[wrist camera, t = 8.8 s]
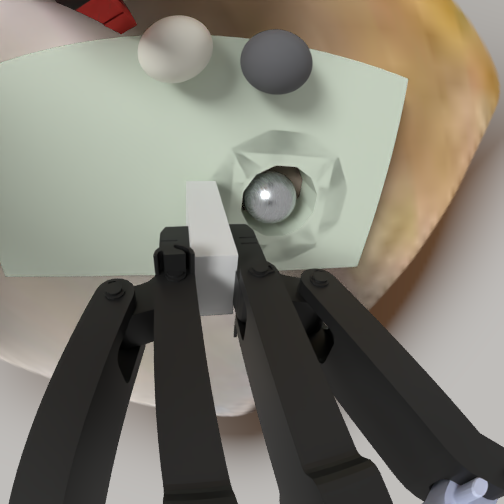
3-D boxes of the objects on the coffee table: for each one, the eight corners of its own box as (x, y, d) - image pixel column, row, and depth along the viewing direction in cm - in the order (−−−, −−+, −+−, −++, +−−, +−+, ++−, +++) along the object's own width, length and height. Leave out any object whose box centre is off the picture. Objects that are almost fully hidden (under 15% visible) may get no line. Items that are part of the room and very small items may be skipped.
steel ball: (262, 237, 17) (301, 226, 19) (271, 184, 15) (311, 179, 17) (230, 214, 19) (268, 206, 21) (235, 166, 17) (275, 162, 19)
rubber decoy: (225, 94, 12) (272, 86, 10) (227, 32, 11) (273, 13, 9) (278, 100, 14) (327, 97, 12) (279, 44, 13) (327, 34, 10)
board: (17, 256, 18) (5, 276, 16) (-11, 71, 10) (-33, 75, 8) (342, 248, 24) (356, 266, 22) (385, 74, 16) (408, 78, 14)
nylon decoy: (134, 69, 9) (220, 72, 10) (144, 1, 8) (224, 7, 9) (133, 91, 11) (201, 92, 13) (140, 33, 11) (205, 35, 12)
